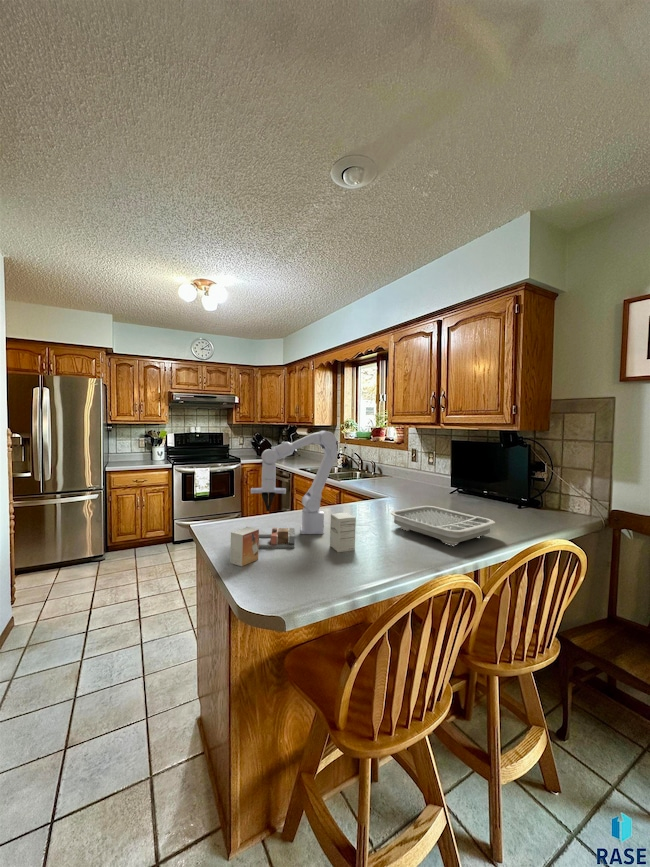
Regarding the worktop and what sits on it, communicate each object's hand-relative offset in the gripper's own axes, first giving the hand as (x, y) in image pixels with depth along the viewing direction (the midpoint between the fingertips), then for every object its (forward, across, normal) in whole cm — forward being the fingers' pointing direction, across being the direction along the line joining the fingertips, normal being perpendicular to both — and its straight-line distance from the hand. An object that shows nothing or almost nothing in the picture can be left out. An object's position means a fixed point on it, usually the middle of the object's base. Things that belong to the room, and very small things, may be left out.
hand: (268, 510), depth 147 cm
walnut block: (+10, -7, +10) cm, 16 cm away
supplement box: (+10, -29, +17) cm, 35 cm away
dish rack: (+10, -75, 0) cm, 76 cm away
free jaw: (+10, -3, +10) cm, 14 cm away
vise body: (+10, -2, +10) cm, 14 cm away
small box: (+10, +6, +28) cm, 30 cm away
